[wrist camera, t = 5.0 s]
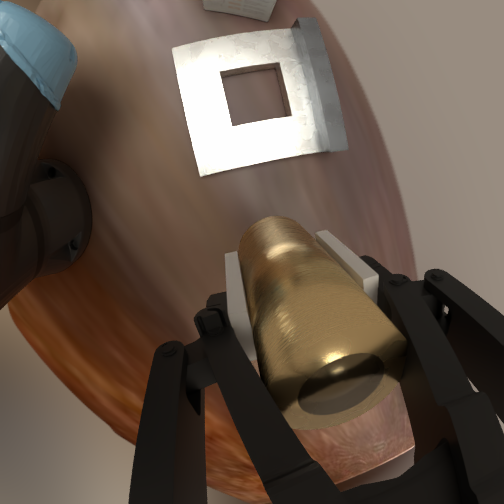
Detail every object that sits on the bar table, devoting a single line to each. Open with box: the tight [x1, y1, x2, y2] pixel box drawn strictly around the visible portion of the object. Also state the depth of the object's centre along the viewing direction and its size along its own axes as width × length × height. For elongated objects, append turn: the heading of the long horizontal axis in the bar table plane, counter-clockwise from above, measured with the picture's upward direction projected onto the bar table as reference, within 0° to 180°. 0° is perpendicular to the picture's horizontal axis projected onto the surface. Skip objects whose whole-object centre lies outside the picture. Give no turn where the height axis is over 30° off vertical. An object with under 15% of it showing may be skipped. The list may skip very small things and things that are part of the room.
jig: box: [172, 18, 349, 176], centre depth 24 cm, size 15×15×6 cm
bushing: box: [238, 216, 408, 430], centre depth 13 cm, size 5×5×12 cm
